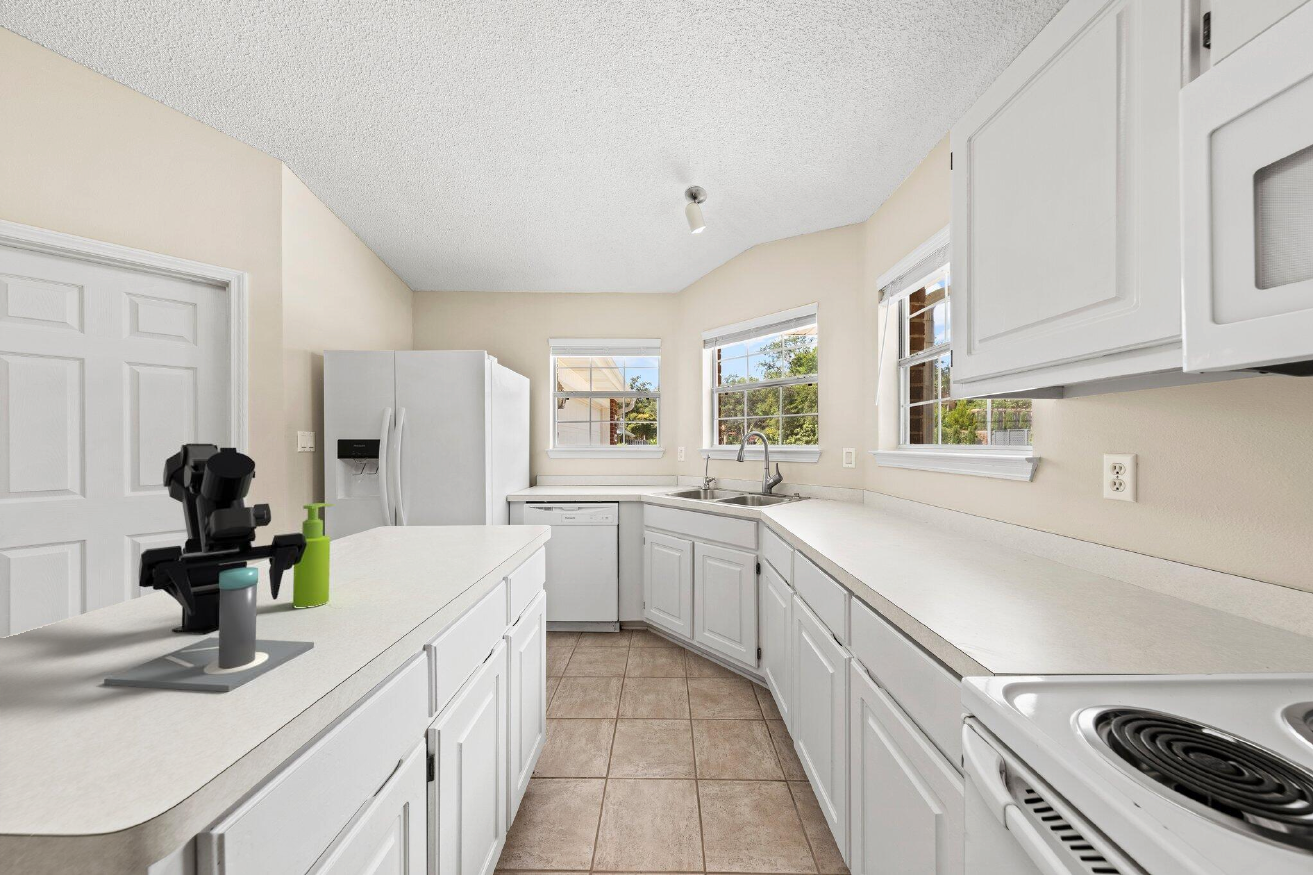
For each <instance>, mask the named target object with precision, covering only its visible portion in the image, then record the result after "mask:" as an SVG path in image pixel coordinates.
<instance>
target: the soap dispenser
mask: <svg viewBox="0 0 1313 875" xmlns="http://www.w3.org/2000/svg"><path fill="white" fill-rule="evenodd" d="M332 505H333V504H332V503H327V502H323V503H322V502H321V503H320V502H315V503H309V504H306V505H303V507H302V508H303V509H306V510H307V519H305V520H303V521H302V525H301V526H302V529H301V534H303V535H304V536H305V538H306V542H307V545H306V548H305V551H304V553H303V556H302V558H301V561H300V563H298V564H296V565H293V586H292V588H293V590H292V591H293V592H292V607H293V606H296V607H308V606H316V605H319V604H323V603H326V602H327V601H330V559H331V558H330V557H331V556H330V554H331V552H330V549H331V537H330V536H327V535H324V520H323V519H320V518H319V508H322V507H332ZM326 604H327V603H326Z"/></svg>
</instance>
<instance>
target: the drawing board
mask: <svg viewBox="0 0 1313 875" xmlns="http://www.w3.org/2000/svg"><path fill="white" fill-rule="evenodd" d="M313 648H315V642H314V641H299V640H298V641H296V640H276V639H275V640H274V639H273V640H272V639H256V649H255V660H254V661H253V662H251V663H249V664H247V665H244V666H240V667H236V668H230V669H221V668H219V667H218V658H219V637H211V636H210V637H207V638H205V639H202V640H199V641H197V642H195V643H192V644H189V645H186V646H184V647H182V648H179V649H177V650H174V651H170V652H169V653H166V654H164V655H161V656H158V657H157V658H154V659H151V660H148V661H146V662H143V663H140V664H138V665H136V666H133V667H131V668H128V669H125V670H123V671H120V672H118V673H115V674H113V675H110V676H107V677H105V678H103V685H104V686H120V687H136V688H137V687H139V688H140V687H141V688H154V689H155V688H156V689H157V688H158V689H169V690H170V689H173V690H175V689H176V690H188V691H189V690H191V691H209V692H226V693H228V692H231V691H233V690H235V689H237V688H239V687H240V686H243V685H245V684H246V683H249V682H250V681H252V680H254V679H256V678H258V677H259V676H262V675H263V674H266V673H267V672H270V671H271V670H273V669H275V668H277V667H279V666H281V665H283V664H285V663H287V662H288V661H291V660H293V659H294V658H297V657H298V656H300V655H302V654H304V653H306V652H308V651H309V650H312V649H313Z"/></svg>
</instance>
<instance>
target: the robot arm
mask: <svg viewBox="0 0 1313 875" xmlns="http://www.w3.org/2000/svg"><path fill="white" fill-rule="evenodd" d="M218 450H219V451H218ZM255 469H256V462H255V460H253V459H252V458H251V457H250V456H248V455H247V454H245V453H242V452H238V450H237V447H219V448H218V445H217V444H213V443H186V444H181V447H180V451H178V452H176V453H175V454H173V455H172V456H170V457H168V458H167V459H166V460H165V462H164V469H163V473H162V474H163V475H162V482H163V484H162V485H163V487H164V488H167V490H168V495H169V498H172V499H173V500H176V501H178V502H180V503H181V504H182V511H183V516H184V523H185V527H186V528H185V529H186V533H187V534H186V535H187V539H186V541H185V542H184V547H182V545H174V546H164V547H156V548H155V547H154V548H153V547H152V548H146V549H145V550H144V551H143V552H141V553H140V558H139V559H140V560H139V565H138V566H139V567H138V586H139V587H141V588H149V587H152V589H153V590H155V591H161V590H162V591H163V592H165V593H167V594H168V595H169V596H171V597H172V598H173V599H175V601H177V602H178V604H180V606H181V610H182V611H181V625H180V626H177V627H174V628H173V629H171V632H172V633H179V634H180V633H183V634H184V633H185V634H186V633H187V634H204V635H205V634H209V633H210V632H213V631H217V630H219V615H220V588H219V574H220V572H223V571H226V570H230V569H236V568H246V567H248V562H250V561H258V560H265V559H268V561H269V565H270V567H269V569H268V574H269V584H270V586H269V587H270V593H271V597H272V599H273V601H274V600H277V599H278V596H279V592H280V587H281V584H282V580H283V579H282V578H283V575H284V572H285V571H288V570H291V569H292V568H293V567H294V565H296V564H298V563H300V561H301V558H302V556H303V553H304V551H305V548H306V545H307V542H306V538H305V536H304V535H303V534H302V532H294V533H285V534H284V533H281V534H275V535H273V538H272V541H271V544H267V545H266V544H265V545H257V546H253V544H252V542H255V540H256V538H257V536H256V535H257V534H256V529H258V527H267V526H268V525H269V524H270V523H271V521H272V512H271V507H270V504H269V503H255V504H254V505H253V506H246V505H245V501H244V498H246V497H247V496H248V493H249V492H250V487H251V484H252V480H253V479H255V478H256V470H255Z"/></svg>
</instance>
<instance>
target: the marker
mask: <svg viewBox="0 0 1313 875" xmlns="http://www.w3.org/2000/svg"><path fill="white" fill-rule="evenodd" d="M258 583H259V568H258V567H253V566H252V567H250V566H247V567H246V568H236V569H230V570H226V571H223V572H220V574H219V588H220V615H219V629H218V638H219V658H218V667H219V668H221V669H230V668H236V667H240V666H244V665H247V664H249V663H251V662H253V661H254V660H255V649H256V640H257V637H256V635H257V602H258V601H257V599H258V598H257V594H258Z"/></svg>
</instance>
